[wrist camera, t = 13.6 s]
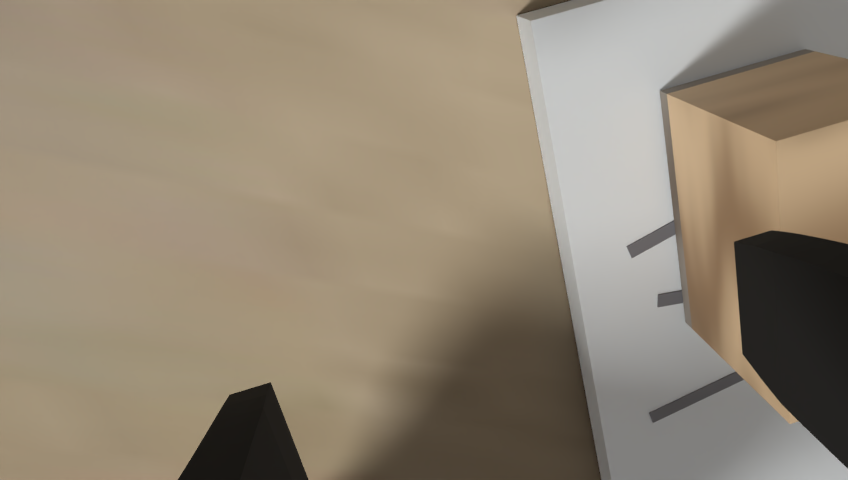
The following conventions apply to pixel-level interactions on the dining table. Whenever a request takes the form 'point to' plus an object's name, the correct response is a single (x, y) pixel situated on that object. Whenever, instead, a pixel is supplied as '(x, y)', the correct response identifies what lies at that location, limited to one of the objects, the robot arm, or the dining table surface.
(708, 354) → the board
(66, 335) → the dining table surface
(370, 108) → the dining table surface
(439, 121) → the dining table surface
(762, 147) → the block
